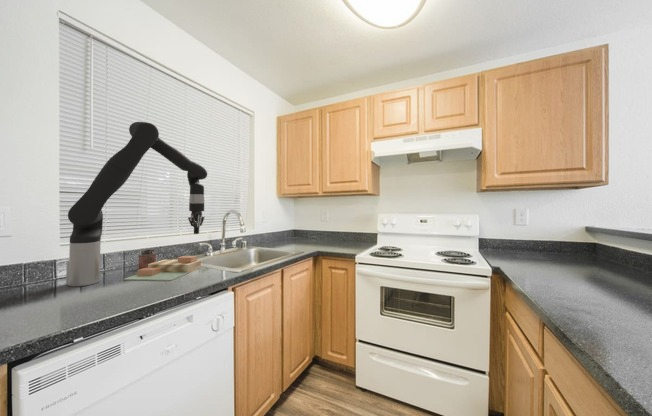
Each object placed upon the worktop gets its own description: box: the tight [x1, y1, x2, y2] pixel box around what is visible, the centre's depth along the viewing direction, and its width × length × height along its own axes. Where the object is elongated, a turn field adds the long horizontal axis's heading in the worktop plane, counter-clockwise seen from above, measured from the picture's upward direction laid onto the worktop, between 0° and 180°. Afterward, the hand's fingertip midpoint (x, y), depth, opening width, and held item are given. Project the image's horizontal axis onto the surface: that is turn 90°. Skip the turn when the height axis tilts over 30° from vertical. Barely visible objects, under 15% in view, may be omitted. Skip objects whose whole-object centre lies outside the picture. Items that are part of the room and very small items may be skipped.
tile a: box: [136, 268, 160, 276], centre depth 116 cm, size 7×5×2 cm
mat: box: [123, 272, 189, 282], centre depth 114 cm, size 21×13×1 cm, turn 89°
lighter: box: [137, 248, 157, 270], centre depth 131 cm, size 8×3×10 cm, turn 147°
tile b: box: [177, 255, 198, 263], centre depth 129 cm, size 7×5×2 cm
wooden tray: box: [148, 259, 202, 274], centre depth 127 cm, size 20×12×4 cm, turn 89°
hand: (196, 233), depth 137 cm, fingers closed
